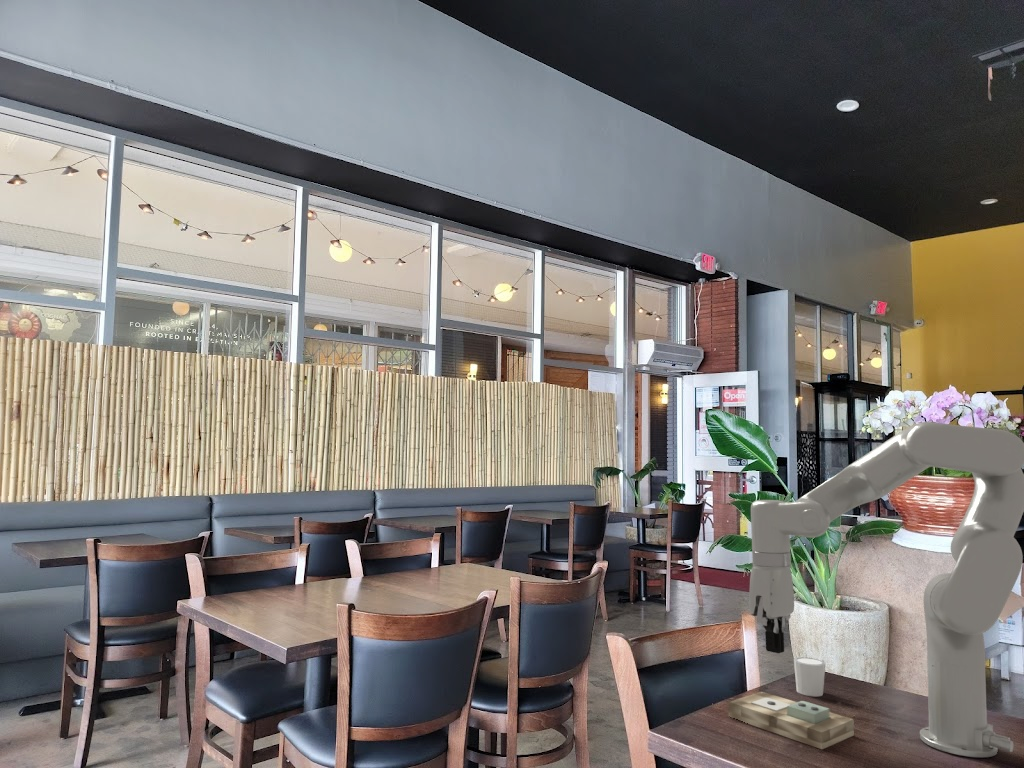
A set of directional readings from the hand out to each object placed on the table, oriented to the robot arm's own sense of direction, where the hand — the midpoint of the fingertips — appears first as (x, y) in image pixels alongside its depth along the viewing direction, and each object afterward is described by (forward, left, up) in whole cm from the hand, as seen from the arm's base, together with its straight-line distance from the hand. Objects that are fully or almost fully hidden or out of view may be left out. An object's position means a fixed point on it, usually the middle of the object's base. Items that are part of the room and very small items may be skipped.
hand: (775, 651), depth 150 cm
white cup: (+6, -24, -14) cm, 28 cm away
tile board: (-3, 0, -14) cm, 14 cm away
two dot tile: (-7, 0, -11) cm, 13 cm away
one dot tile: (+1, 0, -13) cm, 13 cm away
